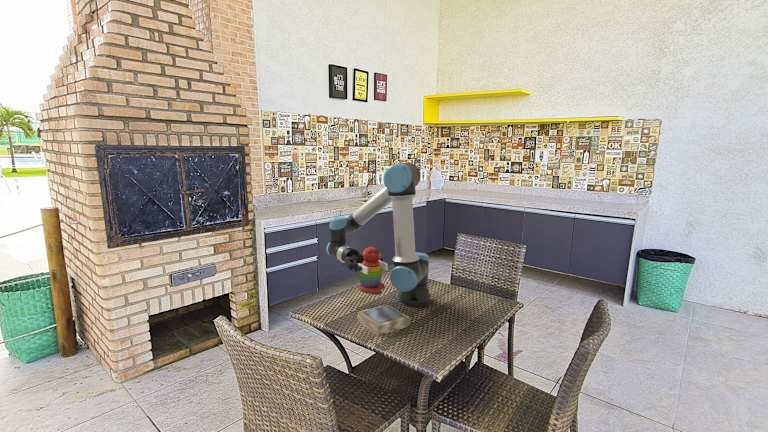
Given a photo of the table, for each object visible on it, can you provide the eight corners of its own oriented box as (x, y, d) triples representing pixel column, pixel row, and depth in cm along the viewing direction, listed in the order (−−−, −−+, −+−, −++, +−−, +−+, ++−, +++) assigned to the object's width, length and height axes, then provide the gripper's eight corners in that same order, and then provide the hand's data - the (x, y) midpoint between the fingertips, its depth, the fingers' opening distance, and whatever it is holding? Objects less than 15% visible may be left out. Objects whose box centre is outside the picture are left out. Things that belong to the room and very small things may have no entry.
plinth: (386, 312, 165) (387, 303, 165) (408, 326, 154) (409, 316, 153) (357, 320, 157) (357, 310, 156) (378, 335, 145) (378, 325, 144)
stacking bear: (380, 295, 150) (381, 251, 147) (355, 293, 152) (355, 249, 149) (385, 286, 160) (386, 245, 157) (362, 284, 162) (362, 243, 159)
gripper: (368, 260, 175) (398, 273, 157) (326, 267, 163) (353, 283, 145) (369, 244, 174) (399, 256, 156) (326, 250, 162) (354, 263, 144)
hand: (377, 269), depth 150 cm, fingers closed on stacking bear, 9 cm apart
